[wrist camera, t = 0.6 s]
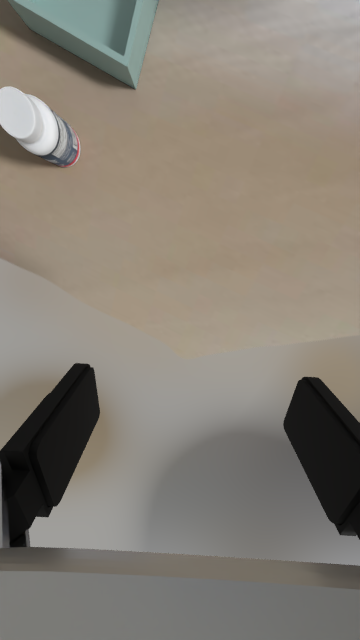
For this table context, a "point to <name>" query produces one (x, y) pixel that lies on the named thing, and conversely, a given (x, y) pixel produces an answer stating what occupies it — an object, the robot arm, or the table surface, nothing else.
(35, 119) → the pill bottle
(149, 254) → the table surface
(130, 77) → the bin
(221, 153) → the table surface
